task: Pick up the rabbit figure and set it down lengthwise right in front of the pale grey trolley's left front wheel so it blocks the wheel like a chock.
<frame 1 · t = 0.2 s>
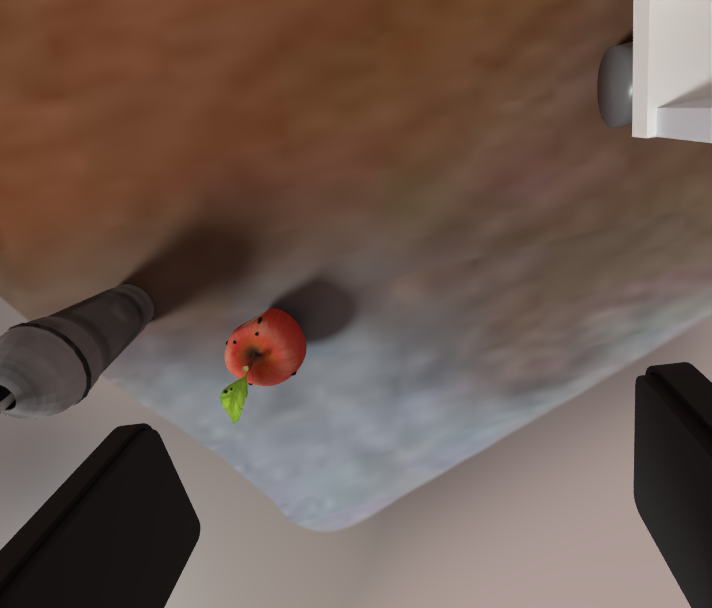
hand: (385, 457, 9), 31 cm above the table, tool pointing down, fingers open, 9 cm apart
apple: (280, 329, 44), on the table
beverage cup: (133, 304, 44), on the table
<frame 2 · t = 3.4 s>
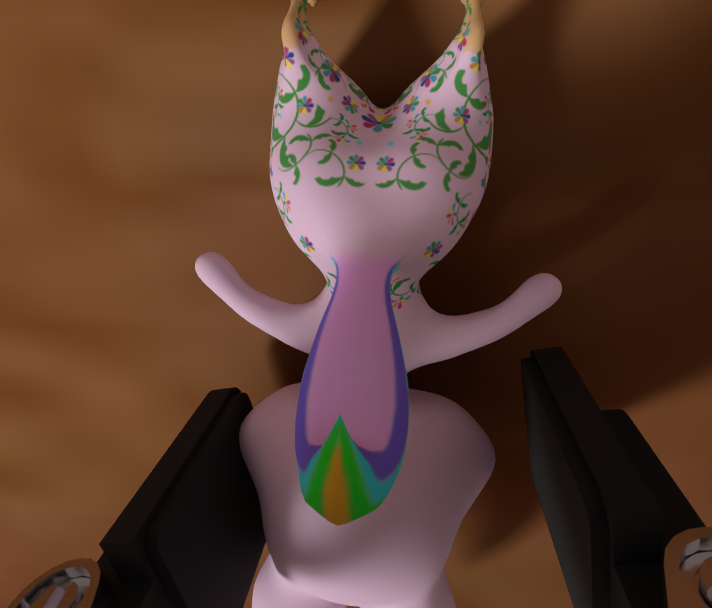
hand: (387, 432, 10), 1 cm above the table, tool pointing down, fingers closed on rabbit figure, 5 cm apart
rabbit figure: (373, 362, 11), on the table, touching gripper
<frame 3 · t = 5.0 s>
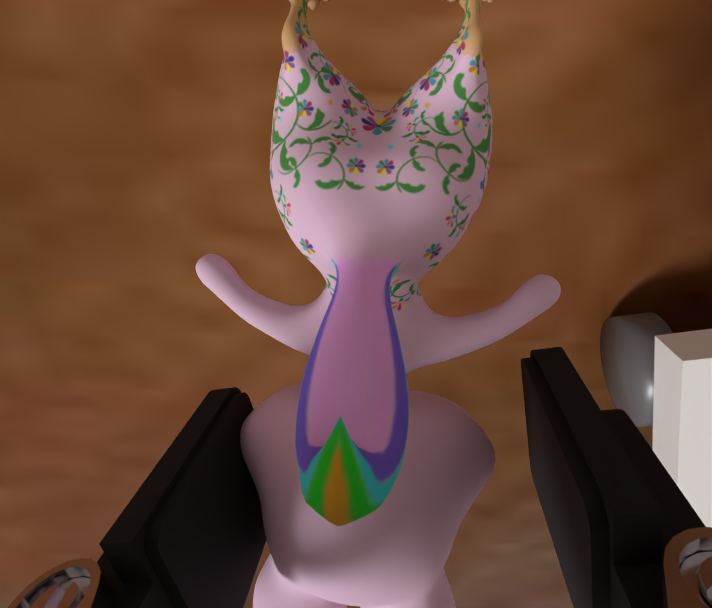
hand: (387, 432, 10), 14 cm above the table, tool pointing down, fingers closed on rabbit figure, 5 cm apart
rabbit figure: (373, 363, 11), point 13 cm above the table, touching gripper
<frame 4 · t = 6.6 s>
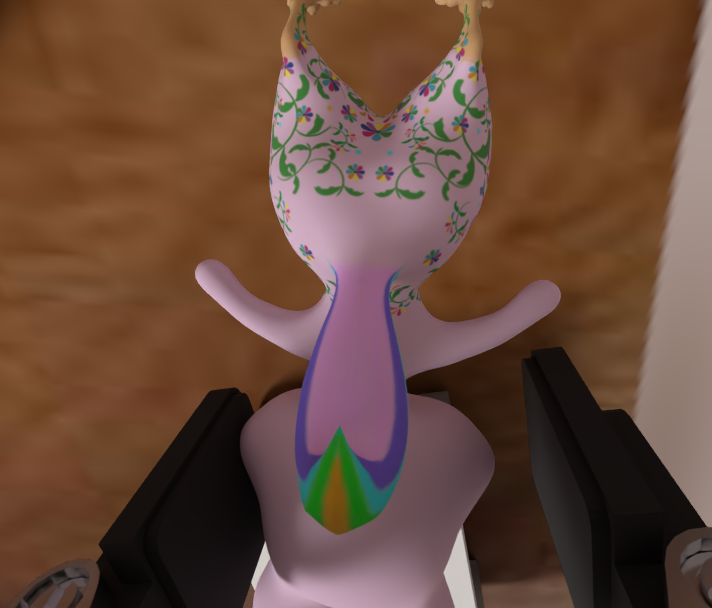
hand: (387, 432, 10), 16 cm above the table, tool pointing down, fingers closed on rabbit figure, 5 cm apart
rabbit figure: (373, 367, 11), point 14 cm above the table, touching gripper
trolley: (373, 502, 31), on the table
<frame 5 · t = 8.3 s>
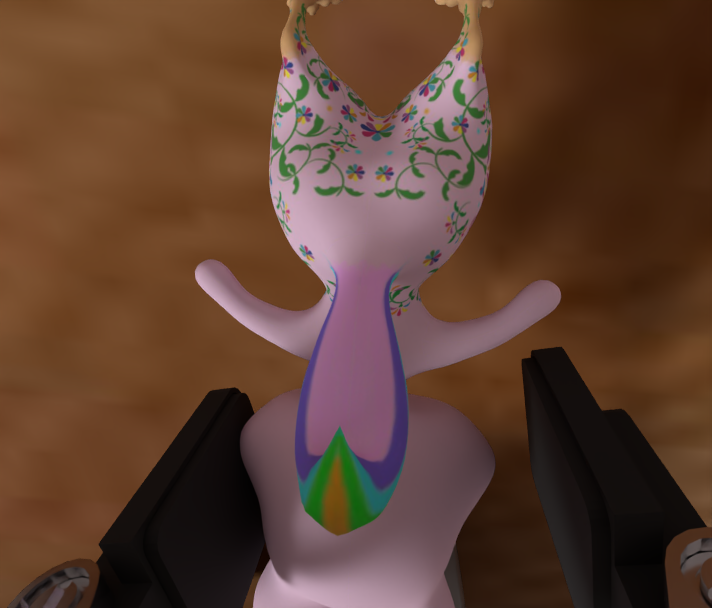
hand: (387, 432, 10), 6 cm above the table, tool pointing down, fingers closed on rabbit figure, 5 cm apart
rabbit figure: (373, 367, 11), point 5 cm above the table, touching gripper
when the fingers open (2 cm above the table, at t = 9.6 s): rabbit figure stays where it is, on the table.
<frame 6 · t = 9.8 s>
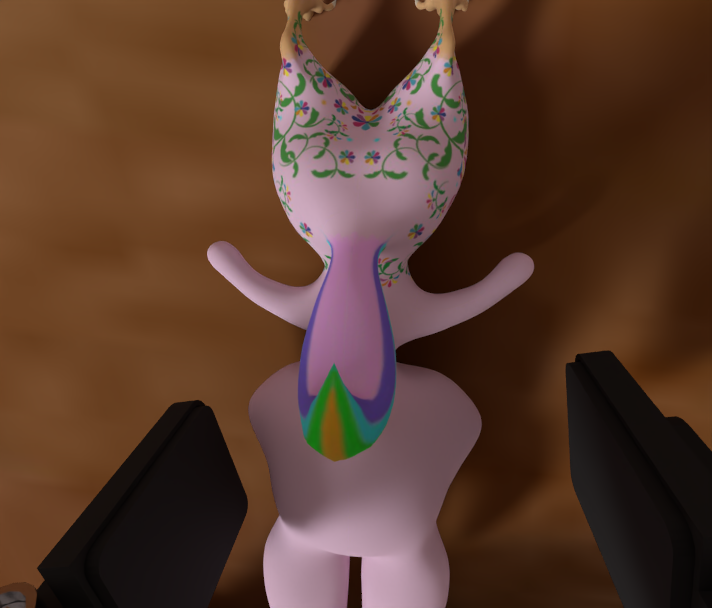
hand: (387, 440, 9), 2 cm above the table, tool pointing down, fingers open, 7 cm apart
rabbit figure: (370, 343, 11), on the table
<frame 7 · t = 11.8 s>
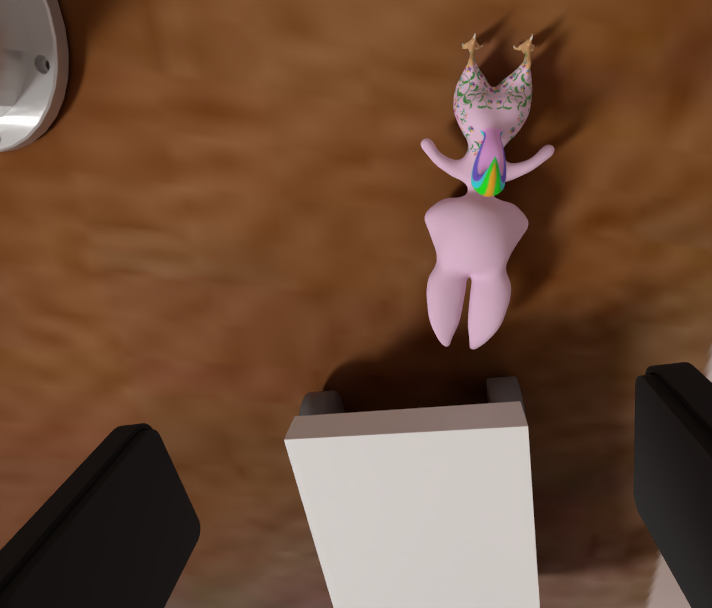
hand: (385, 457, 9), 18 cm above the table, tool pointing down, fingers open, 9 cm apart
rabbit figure: (474, 199, 24), on the table
trolley: (427, 486, 32), on the table
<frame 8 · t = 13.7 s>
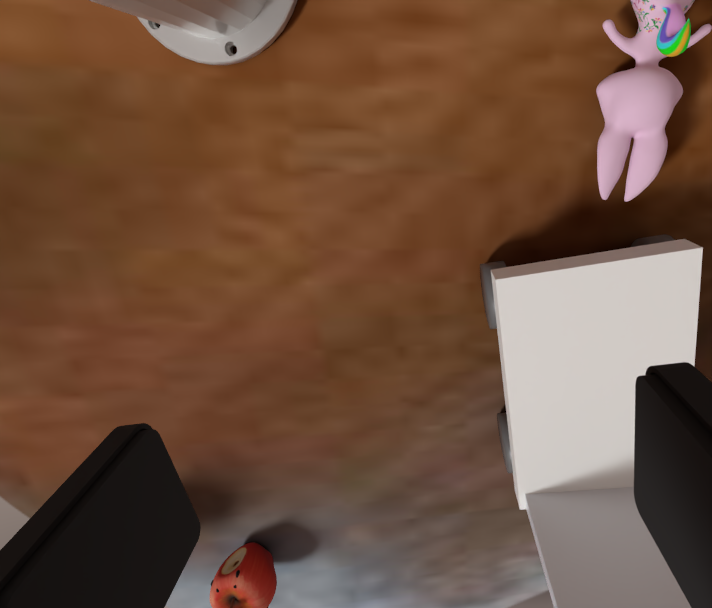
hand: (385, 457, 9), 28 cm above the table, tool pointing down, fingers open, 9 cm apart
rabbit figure: (629, 79, 30), on the table
apple: (257, 551, 53), on the table
trolley: (566, 349, 38), on the table
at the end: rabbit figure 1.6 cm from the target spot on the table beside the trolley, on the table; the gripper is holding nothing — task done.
